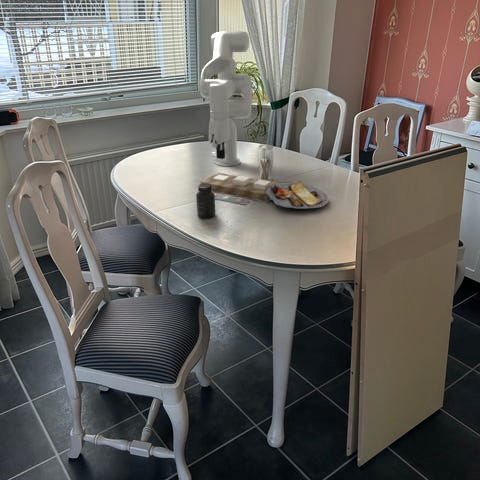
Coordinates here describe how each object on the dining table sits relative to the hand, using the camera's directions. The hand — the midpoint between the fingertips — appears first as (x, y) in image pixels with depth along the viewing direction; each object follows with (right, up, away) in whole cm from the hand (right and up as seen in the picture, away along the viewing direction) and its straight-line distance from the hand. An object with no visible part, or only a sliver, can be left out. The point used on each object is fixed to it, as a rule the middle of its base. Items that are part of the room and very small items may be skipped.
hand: (220, 158), depth 199 cm
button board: (+9, -13, 0) cm, 16 cm away
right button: (+17, -14, -5) cm, 23 cm away
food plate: (+31, -19, -12) cm, 38 cm away
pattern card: (+3, -18, -9) cm, 21 cm away
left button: (0, -10, +4) cm, 11 cm away
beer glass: (+20, -8, +12) cm, 25 cm away
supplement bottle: (-4, -26, -24) cm, 35 cm away
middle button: (+9, -12, -1) cm, 15 cm away
